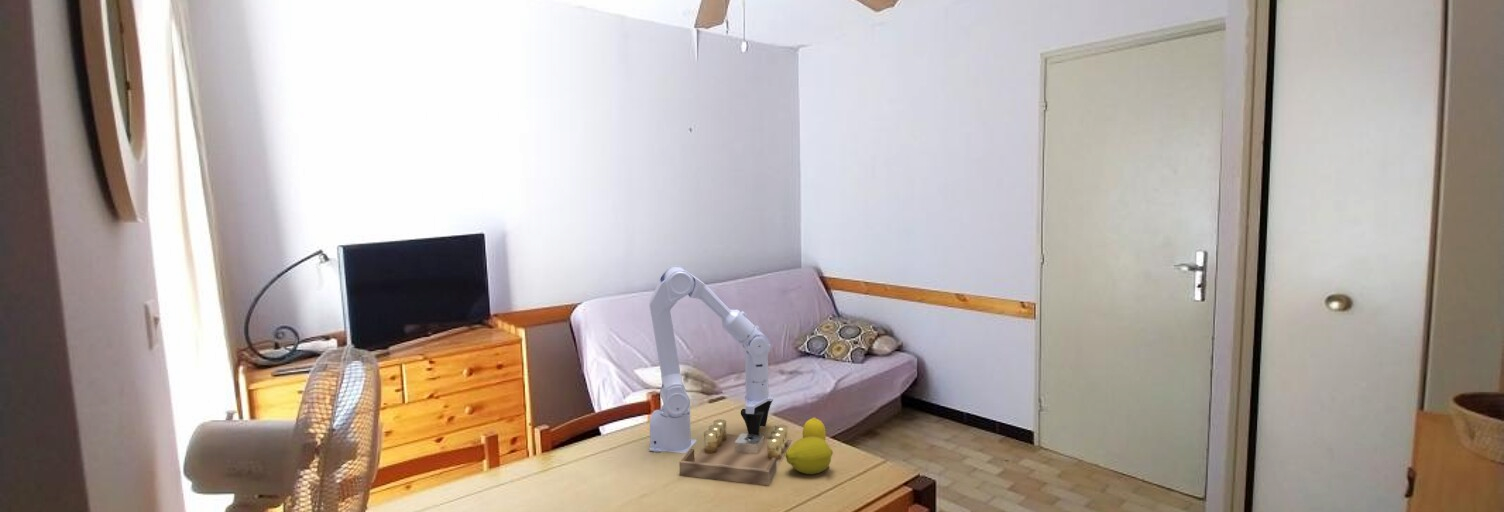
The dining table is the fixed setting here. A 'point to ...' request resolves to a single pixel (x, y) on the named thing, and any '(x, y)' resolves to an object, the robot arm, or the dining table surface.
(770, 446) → the spacers
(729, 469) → the tray
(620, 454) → the dining table surface
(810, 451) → the lemon
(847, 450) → the dining table surface
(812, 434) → the lemon
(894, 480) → the dining table surface
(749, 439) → the square block with knob
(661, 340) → the robot arm
